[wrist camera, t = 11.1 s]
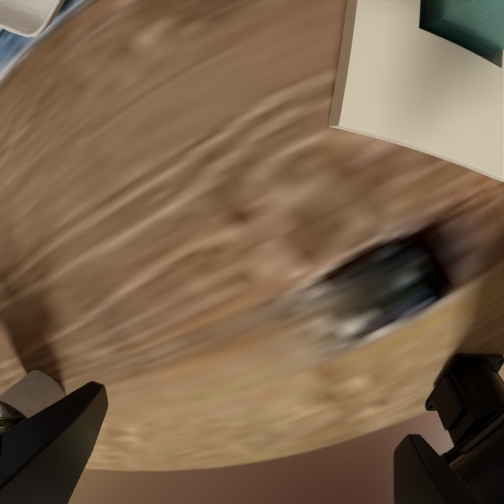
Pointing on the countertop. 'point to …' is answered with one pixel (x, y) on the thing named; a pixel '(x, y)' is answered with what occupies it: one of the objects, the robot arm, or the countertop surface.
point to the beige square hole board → (418, 88)
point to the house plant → (28, 398)
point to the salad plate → (28, 15)
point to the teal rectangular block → (466, 23)
